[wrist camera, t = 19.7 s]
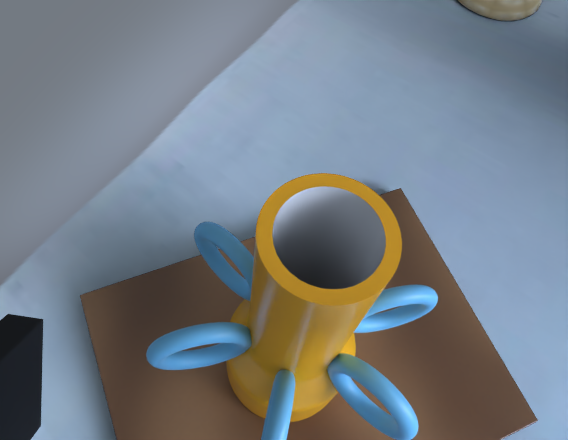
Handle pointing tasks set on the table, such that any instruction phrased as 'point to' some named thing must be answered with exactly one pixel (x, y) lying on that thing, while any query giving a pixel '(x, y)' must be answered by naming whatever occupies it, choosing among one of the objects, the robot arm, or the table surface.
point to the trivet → (337, 413)
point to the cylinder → (306, 306)
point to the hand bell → (503, 8)
